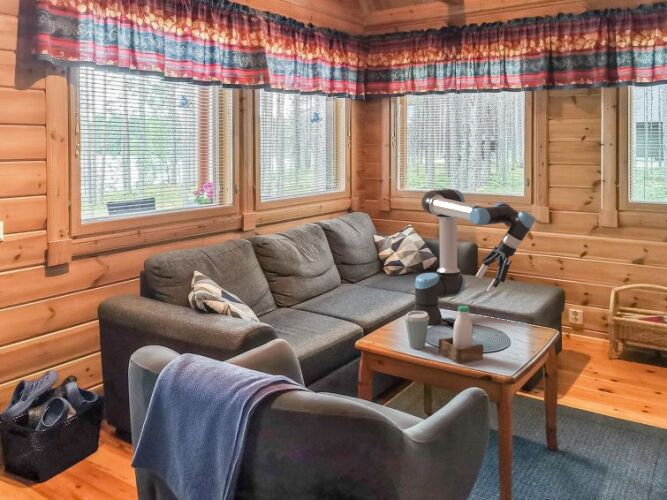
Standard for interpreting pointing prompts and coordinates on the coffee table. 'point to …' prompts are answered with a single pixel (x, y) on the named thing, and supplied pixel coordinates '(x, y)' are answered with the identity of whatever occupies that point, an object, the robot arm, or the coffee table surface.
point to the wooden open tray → (460, 351)
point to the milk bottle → (462, 328)
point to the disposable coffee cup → (417, 328)
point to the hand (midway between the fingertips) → (483, 284)
